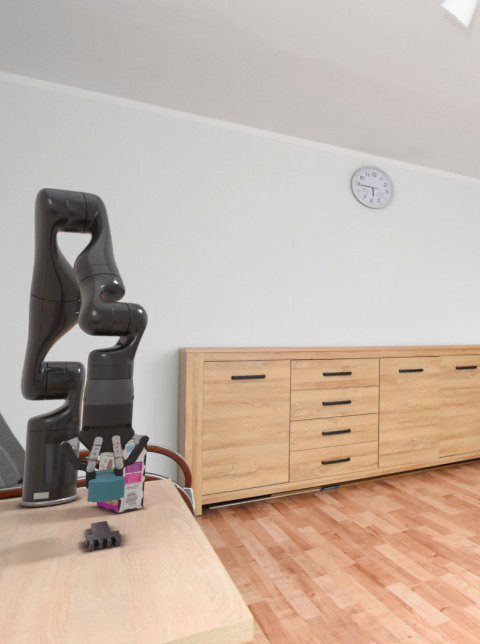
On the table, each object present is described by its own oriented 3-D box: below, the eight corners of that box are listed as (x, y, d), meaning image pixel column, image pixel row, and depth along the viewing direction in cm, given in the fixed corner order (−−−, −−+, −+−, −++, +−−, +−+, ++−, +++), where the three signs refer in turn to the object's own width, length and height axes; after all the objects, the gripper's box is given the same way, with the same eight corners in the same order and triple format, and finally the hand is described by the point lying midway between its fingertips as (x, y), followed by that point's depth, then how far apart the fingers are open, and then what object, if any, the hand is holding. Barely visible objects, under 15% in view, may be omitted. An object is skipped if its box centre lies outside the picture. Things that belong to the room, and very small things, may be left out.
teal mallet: (84, 489, 111) (85, 471, 112) (118, 485, 115) (119, 468, 115) (88, 503, 102) (89, 483, 102) (125, 498, 106) (126, 479, 106)
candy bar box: (145, 508, 128) (149, 436, 129) (118, 514, 124) (122, 439, 124) (121, 501, 133) (125, 432, 134) (95, 506, 129) (99, 435, 130)
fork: (82, 530, 113) (83, 524, 113) (114, 525, 116) (114, 519, 116) (87, 551, 101) (87, 545, 101) (121, 545, 105) (122, 539, 105)
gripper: (151, 398, 119) (146, 480, 118) (59, 401, 109) (53, 491, 108) (156, 400, 113) (151, 487, 112) (60, 404, 103) (54, 499, 103)
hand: (103, 488), depth 110 cm, fingers closed on teal mallet, 2 cm apart
